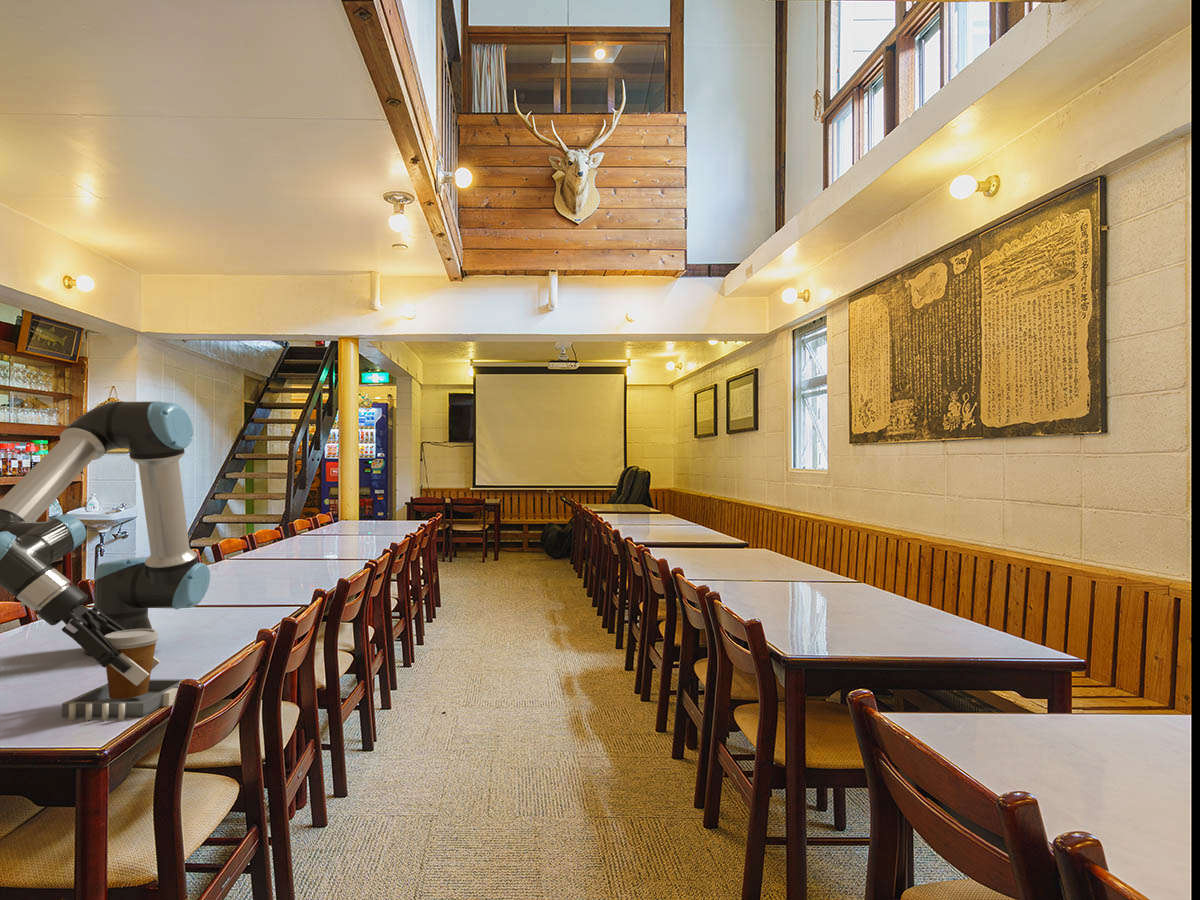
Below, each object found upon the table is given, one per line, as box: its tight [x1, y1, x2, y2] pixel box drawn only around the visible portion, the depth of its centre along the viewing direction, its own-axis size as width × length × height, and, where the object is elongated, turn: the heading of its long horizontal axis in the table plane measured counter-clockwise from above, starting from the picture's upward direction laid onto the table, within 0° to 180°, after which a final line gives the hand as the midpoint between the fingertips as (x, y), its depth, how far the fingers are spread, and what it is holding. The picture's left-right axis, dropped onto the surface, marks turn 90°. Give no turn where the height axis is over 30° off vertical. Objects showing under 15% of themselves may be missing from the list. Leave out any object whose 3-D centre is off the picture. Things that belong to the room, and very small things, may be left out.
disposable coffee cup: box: [105, 628, 160, 699], centre depth 136 cm, size 10×10×12 cm
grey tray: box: [61, 678, 186, 722], centre depth 135 cm, size 17×16×3 cm
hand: (148, 673), depth 137 cm, fingers closed on disposable coffee cup, 9 cm apart
